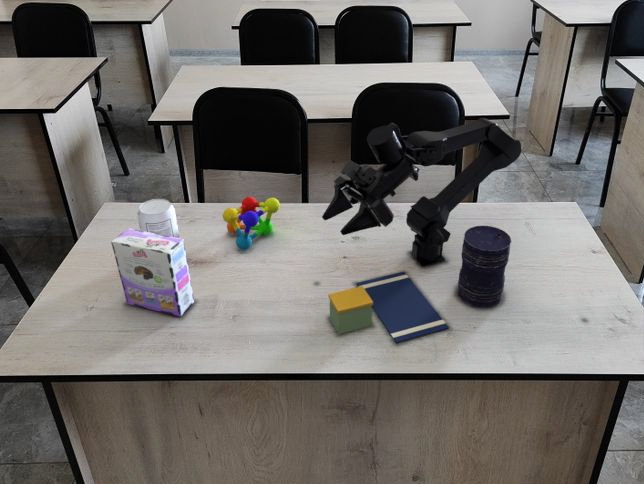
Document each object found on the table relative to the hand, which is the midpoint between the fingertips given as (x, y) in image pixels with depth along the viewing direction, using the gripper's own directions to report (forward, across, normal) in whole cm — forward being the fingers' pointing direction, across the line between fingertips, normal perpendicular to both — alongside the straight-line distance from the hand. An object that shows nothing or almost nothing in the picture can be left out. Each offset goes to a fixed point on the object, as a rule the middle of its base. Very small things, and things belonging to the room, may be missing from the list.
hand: (332, 225), depth 125 cm
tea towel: (0, +8, +22) cm, 23 cm away
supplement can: (+33, -32, -4) cm, 46 cm away
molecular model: (+15, -31, +6) cm, 35 cm away
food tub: (+10, +8, +16) cm, 20 cm away
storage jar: (-16, +12, +31) cm, 37 cm away
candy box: (+38, -16, -4) cm, 42 cm away
